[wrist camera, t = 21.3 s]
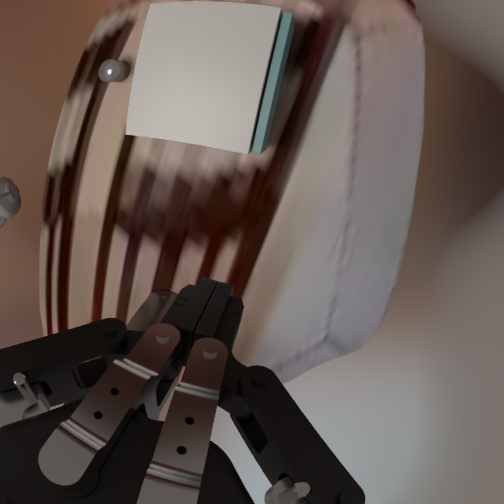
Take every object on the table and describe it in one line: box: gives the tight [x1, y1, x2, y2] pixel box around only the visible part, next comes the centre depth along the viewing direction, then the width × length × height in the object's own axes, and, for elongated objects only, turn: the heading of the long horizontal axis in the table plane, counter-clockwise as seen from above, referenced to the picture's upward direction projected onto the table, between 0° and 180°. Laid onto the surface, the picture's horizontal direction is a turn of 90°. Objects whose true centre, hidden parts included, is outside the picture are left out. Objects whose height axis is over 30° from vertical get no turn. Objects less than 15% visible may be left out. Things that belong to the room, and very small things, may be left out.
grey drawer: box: [252, 12, 294, 154], centre depth 30 cm, size 18×16×6 cm
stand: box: [99, 59, 130, 82], centre depth 33 cm, size 4×4×4 cm
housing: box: [126, 1, 283, 154], centre depth 30 cm, size 18×16×8 cm
